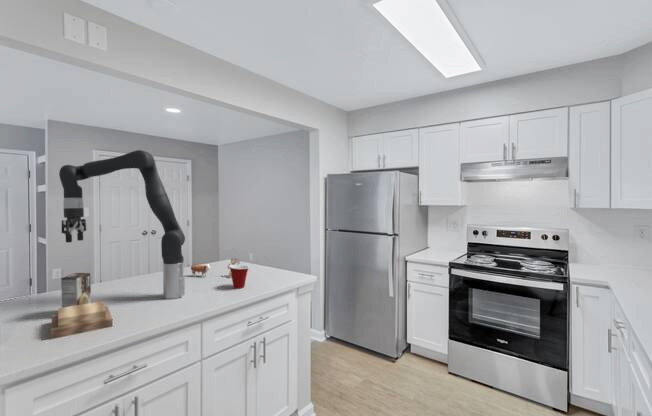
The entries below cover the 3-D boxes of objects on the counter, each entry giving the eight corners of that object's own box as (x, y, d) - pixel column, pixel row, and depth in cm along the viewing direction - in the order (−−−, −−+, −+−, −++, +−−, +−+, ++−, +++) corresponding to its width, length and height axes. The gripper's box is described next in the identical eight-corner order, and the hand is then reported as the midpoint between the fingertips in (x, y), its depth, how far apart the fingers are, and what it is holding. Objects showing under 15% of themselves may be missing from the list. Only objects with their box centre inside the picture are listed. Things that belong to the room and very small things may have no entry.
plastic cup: (252, 288, 177) (252, 266, 177) (232, 291, 171) (233, 268, 170) (245, 283, 186) (245, 263, 186) (226, 286, 180) (226, 265, 179)
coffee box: (76, 308, 141) (75, 272, 141) (91, 308, 142) (91, 272, 141) (60, 316, 132) (60, 277, 132) (77, 316, 133) (76, 277, 132)
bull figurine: (208, 278, 197) (209, 265, 197) (189, 276, 200) (189, 263, 200) (212, 276, 201) (212, 263, 201) (193, 275, 204) (193, 262, 204)
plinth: (107, 312, 136) (107, 299, 136) (112, 326, 123) (112, 311, 122) (52, 322, 125) (52, 307, 125) (50, 339, 111) (50, 322, 111)
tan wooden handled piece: (228, 278, 197) (228, 259, 197) (225, 277, 200) (225, 258, 200) (241, 275, 204) (241, 257, 204) (238, 274, 207) (238, 256, 206)
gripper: (72, 207, 145) (73, 242, 145) (91, 207, 159) (92, 239, 159) (54, 207, 144) (55, 243, 144) (74, 207, 158) (75, 240, 158)
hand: (74, 241), depth 152 cm, fingers open, 8 cm apart
